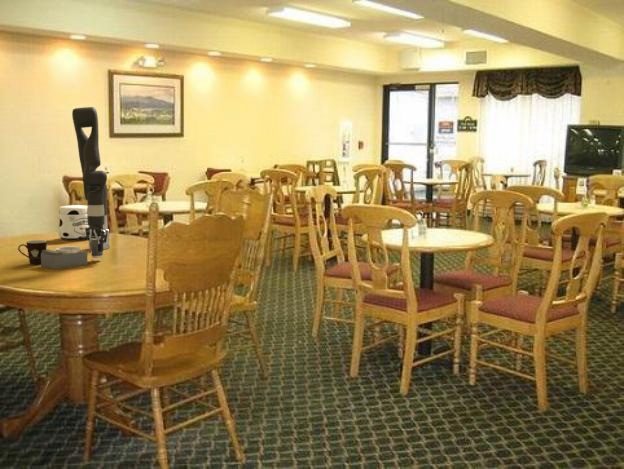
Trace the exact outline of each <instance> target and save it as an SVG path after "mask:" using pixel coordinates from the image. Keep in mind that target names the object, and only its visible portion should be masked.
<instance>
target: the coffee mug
mask: <svg viewBox="0 0 624 469" xmlns="http://www.w3.org/2000/svg"><path fill="white" fill-rule="evenodd" d="M47 243H48V241H47V240H44V239H43V240H42V239H41V240H40V239H35V240H33V239H32V240H27V241H26V244H24V243H23V244H19V246H18V247H17V251H19V253H20V254H21V255H22V256H25V257H26V258H28V261H29V265H31V266H41V253H42V250H47V247H48V244H47ZM23 246H24V247H25V248H26V250H27V254H28V255H27V254H25V253H24V252H23V251H21V249H20V248H21V247H23Z"/></svg>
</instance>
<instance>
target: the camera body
mask: <svg viewBox="0 0 624 469" xmlns="http://www.w3.org/2000/svg"><path fill="white" fill-rule="evenodd" d="M87 265H88V251H86V250H83V249H82V250H81V247H80V246H60V247H57V248H55V250H54V249H47V248H46V250H42V253H41V265H40V266H41V267H42V268H47V269H50V270H62V269H68V268H69V269H71V268H74V267H75V268H77V267H81V266H87Z"/></svg>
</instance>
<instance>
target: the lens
mask: <svg viewBox="0 0 624 469" xmlns="http://www.w3.org/2000/svg"><path fill="white" fill-rule="evenodd" d="M100 240H101V239H100ZM90 251H91V252H90V253H91V254H90V255H91V258H94V259H101V258H103V255H104V253H103V252H104V251H103V252H98V241H97V239H96V237H92V238H91V249H90Z"/></svg>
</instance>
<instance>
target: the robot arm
mask: <svg viewBox="0 0 624 469" xmlns="http://www.w3.org/2000/svg"><path fill="white" fill-rule="evenodd" d="M71 114H72V115H71V116H72V122H73V127H74V131H75V135H76V141H77V150H78V157H79V163H80V168H81V173H82V183H83V195H84V199H85V201H87V205H86V206H87V223H88V228H85V231H86V237H87V239H86V240H87V242H88V250H91V238H92V237H96V239H97V241H98V252H104V250H107V249H110V248H111V247H110V245H111V244H110V230H109V229H108V187H107V181H108V176H107V173H106V172H105V171H104V170H97V169H98V168H99V167H101V156H100V148H99V147H100V146H99V145H100V144H99V136H100V135H99V117H98V112H97V109H96V108H95V107H92V106H89V107H88V106H87V107H85V106H84V107H76V108H73V109H72V112H71ZM85 128H91V130H90V134H89V137H88V136H87V135H86V133H85V131H84V130H83V129H85ZM100 239H101V240H100Z"/></svg>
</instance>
